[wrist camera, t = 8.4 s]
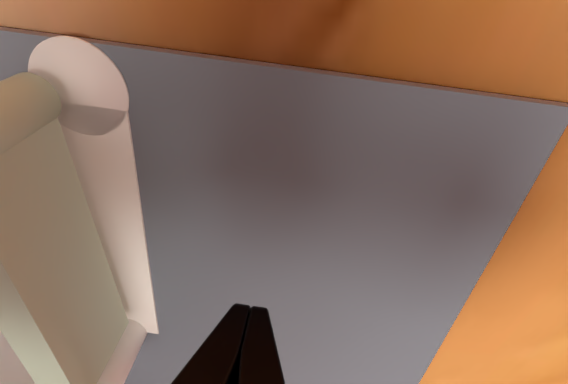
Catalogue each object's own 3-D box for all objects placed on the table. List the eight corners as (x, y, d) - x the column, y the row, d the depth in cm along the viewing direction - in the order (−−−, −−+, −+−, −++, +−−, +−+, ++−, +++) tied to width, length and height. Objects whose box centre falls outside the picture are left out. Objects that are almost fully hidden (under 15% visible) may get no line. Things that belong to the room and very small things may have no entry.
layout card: (383, 437, 24) (398, 580, 18) (-33, 370, 24) (-135, 490, 19) (571, 100, 11) (790, 246, 6) (-296, -17, 12) (-804, 18, 6)
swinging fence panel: (51, 73, 11) (-86, 139, 8) (134, 323, 18) (83, 424, 14) (1, 70, 11) (-159, 135, 8) (102, 319, 18) (43, 419, 14)
